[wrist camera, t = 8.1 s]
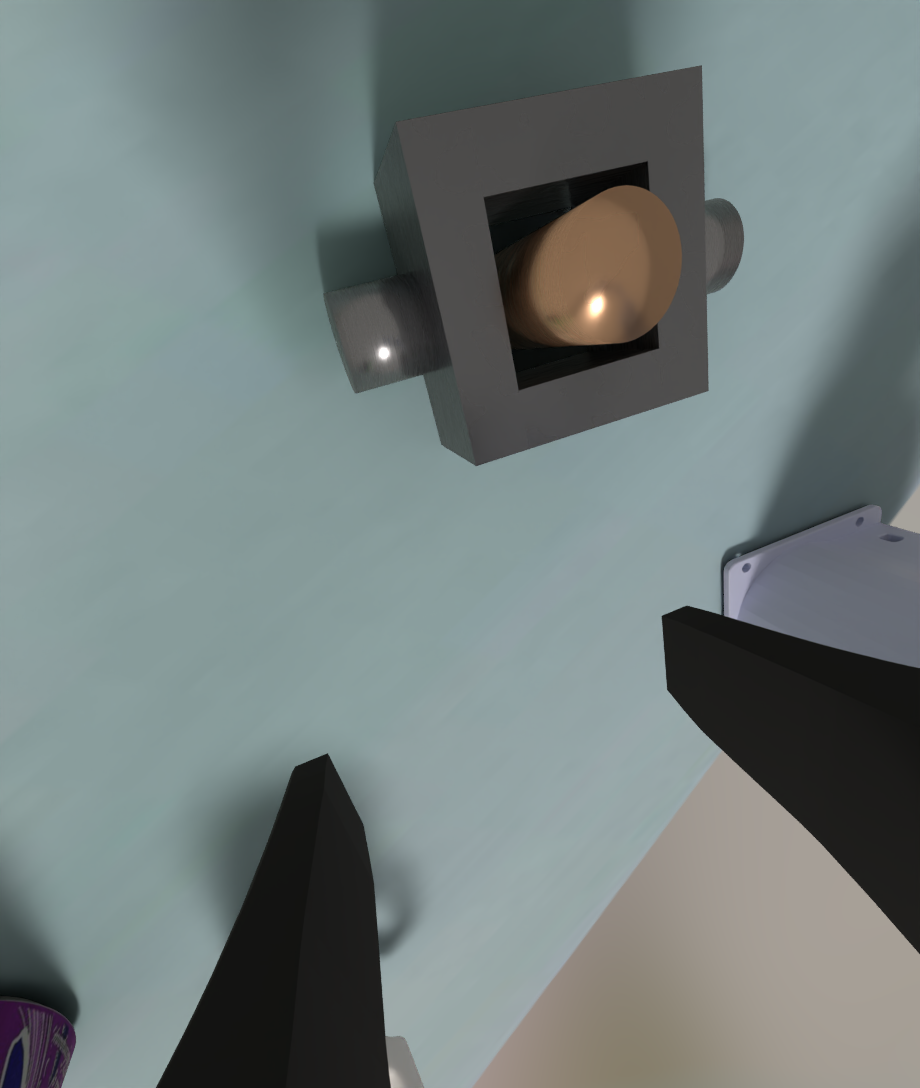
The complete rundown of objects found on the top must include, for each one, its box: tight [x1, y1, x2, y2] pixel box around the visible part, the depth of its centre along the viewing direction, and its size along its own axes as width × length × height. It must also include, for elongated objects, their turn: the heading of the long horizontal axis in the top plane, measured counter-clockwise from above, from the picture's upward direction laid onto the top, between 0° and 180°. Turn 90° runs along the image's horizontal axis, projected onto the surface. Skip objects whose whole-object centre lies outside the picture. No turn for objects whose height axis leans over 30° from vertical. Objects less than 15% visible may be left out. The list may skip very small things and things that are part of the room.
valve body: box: [323, 65, 744, 466], centre depth 15 cm, size 13×8×4 cm, turn 104°
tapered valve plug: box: [494, 185, 682, 349], centre depth 14 cm, size 3×3×6 cm
